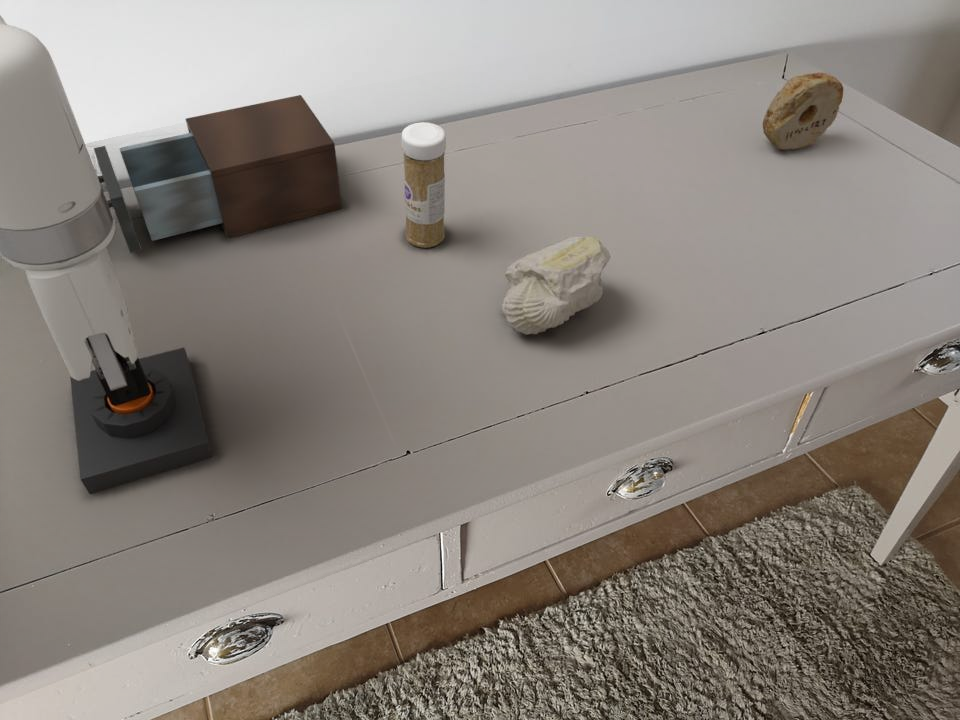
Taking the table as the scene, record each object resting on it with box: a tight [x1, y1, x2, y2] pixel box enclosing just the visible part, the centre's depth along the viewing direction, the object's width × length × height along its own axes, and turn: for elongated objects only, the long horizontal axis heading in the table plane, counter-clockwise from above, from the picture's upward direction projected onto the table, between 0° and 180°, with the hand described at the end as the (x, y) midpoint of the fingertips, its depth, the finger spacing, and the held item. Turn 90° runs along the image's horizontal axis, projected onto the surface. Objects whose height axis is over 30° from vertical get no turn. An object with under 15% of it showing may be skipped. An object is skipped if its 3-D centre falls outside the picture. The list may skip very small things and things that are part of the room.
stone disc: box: [762, 72, 844, 151], centre depth 102 cm, size 10×4×10 cm, turn 111°
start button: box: [107, 383, 155, 415], centre depth 67 cm, size 4×4×2 cm
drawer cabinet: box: [185, 94, 343, 239], centre depth 90 cm, size 14×12×9 cm
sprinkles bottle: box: [400, 121, 447, 249], centre depth 84 cm, size 5×5×13 cm
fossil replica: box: [501, 236, 611, 335], centre depth 78 cm, size 12×8×10 cm
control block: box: [69, 347, 213, 494], centre depth 68 cm, size 12×10×4 cm
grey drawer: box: [93, 132, 223, 254], centre depth 85 cm, size 18×10×7 cm, turn 117°
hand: (130, 394), depth 66 cm, fingers closed
